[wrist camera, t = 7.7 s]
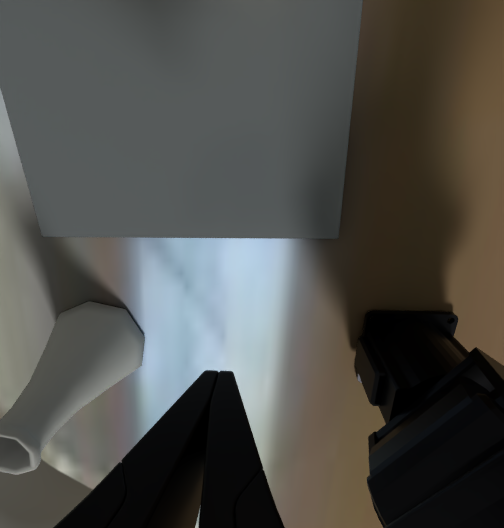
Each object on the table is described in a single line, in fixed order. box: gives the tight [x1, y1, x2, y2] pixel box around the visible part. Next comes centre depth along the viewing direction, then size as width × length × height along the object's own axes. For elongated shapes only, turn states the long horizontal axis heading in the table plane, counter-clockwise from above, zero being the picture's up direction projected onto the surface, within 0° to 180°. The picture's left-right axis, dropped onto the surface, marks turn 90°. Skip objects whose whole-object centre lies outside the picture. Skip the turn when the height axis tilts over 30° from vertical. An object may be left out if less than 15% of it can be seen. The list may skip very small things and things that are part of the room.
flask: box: [0, 301, 145, 475], centre depth 20 cm, size 7×7×10 cm
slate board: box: [0, 0, 363, 239], centre depth 17 cm, size 20×20×1 cm
